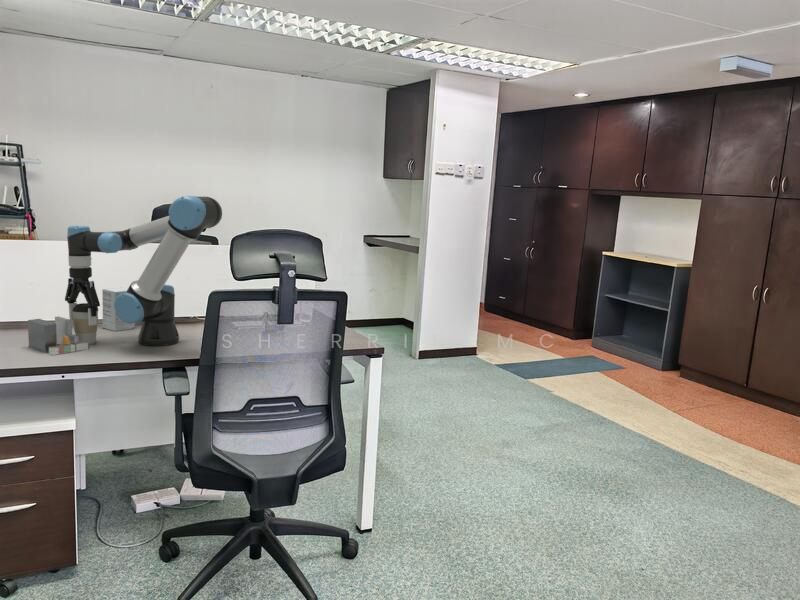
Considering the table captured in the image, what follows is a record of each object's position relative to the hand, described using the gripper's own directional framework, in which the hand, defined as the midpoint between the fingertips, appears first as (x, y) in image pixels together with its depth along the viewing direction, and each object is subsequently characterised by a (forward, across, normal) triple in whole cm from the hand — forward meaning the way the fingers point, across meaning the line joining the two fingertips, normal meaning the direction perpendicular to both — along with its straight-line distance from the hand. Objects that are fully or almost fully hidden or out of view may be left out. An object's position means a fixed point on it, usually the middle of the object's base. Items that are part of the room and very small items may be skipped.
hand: (83, 322), depth 232 cm
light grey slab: (+8, -2, +7) cm, 11 cm away
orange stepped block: (+5, -9, +10) cm, 14 cm away
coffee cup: (+8, +1, -1) cm, 8 cm away
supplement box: (+8, +15, -23) cm, 29 cm away
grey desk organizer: (+8, -2, +10) cm, 13 cm away
